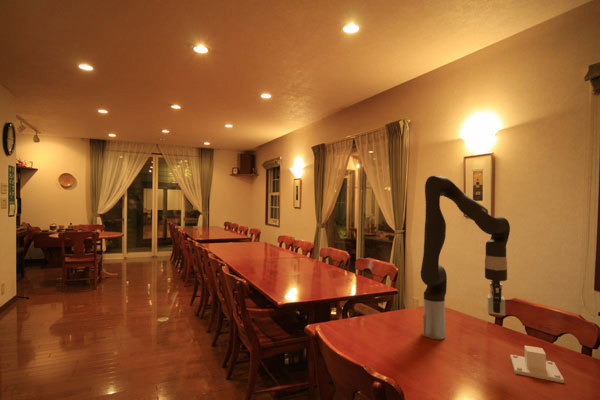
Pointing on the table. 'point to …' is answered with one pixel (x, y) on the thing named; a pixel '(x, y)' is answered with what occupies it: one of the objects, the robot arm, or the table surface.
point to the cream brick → (535, 358)
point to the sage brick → (490, 305)
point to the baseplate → (549, 374)
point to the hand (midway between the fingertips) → (496, 310)
